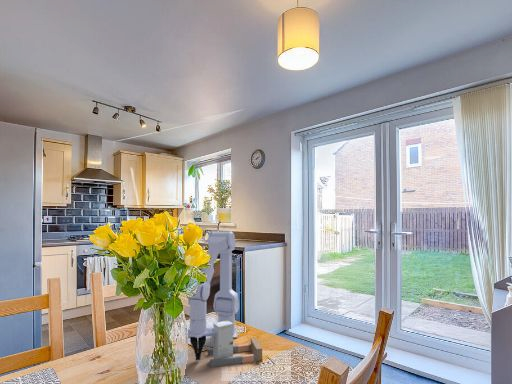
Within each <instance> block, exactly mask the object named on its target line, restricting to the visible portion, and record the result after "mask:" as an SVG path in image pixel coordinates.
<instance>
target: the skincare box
mask: <svg viewBox="0 0 512 384" xmlns="http://www.w3.org/2000/svg"><path fill="white" fill-rule="evenodd" d="M212 327H213V330H214V329H215V331H216V333H215V336H213V337H212V338H213V339H212V343H213V344H212V346H213V347H212V348H213V355H212V359H217V358H225V357H233V356H234V353H233V346H234V338H233V323H231V322H230V321H222V322H218V321H217V322H213V325H212Z"/></svg>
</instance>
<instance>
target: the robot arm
mask: <svg viewBox="0 0 512 384" xmlns="http://www.w3.org/2000/svg"><path fill="white" fill-rule="evenodd" d="M207 236H208V237H207V246H208V249H207V252H206V254H207V253H208V254H210V255H211V259H210V261H209V262H208V264H207V265H212V266H211V267H208V268H202V269H201V271H202V272H204V273H206V274H207V281H206V282H204V283H200V284H199V285H198V287H197V290H196V295H195V296H192V297H188V296H187V295H186V298H187V300H188V301H187V303H188V305H189V329H187V330H188V338H187V339H189V341H190V345H191V346H192V349H193V351H194V355H195V360H196V361H199V360H201V355H202V352H203V348H204V346H205V344H206V342H207V337H212V336H215V333H216V331H215V329H214V330H213V328H212V327H211V328H210V327H207V300H208V299H209V296H210V294H211V281H212V280H213V276H214V274H215V269H214V265H215V263H214V261H215V260H216V261H217V258H218V256H219V260H220V261H219V263H220V264H219V290H218V291H217V292H216V293H215V294H214V300H213V304H212V305H213V310H214V312H215V313H216V315H217V323H218V322H222V321H230V322H231V323H233V339H235V338H237V339H238V335H237V333H236V314H237V313H238V312H239V309H240V300H239V294H238V293H237V292H236V291H234V289H233V288H232V287H233V284H232V283H233V272H232V271H233V252H232V251H234V250H235V249H236V248H235V247H236V236H235V233H234V232H233V231H232V230H229V231H216V230H215V231H214V230H210V232H209V233H208V235H207ZM216 261H215V262H216Z"/></svg>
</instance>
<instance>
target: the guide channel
mask: <svg viewBox="0 0 512 384" xmlns="http://www.w3.org/2000/svg"><path fill="white" fill-rule="evenodd" d="M248 351H251V354H244V355H243V354H242V355H233V357H225V358H217V359H213V358H210V359H209V367H210V368H212V367H219V366H228V365H236V364H243V363H253V362H260V361H263V347H262V346H261V343H260V342H259V341H258V339H257V337H251V338H250V343H244V344H238V345H237V344H236V345H233V354H234V353H241V352H248ZM207 356H213V347H211V348H207Z"/></svg>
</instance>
